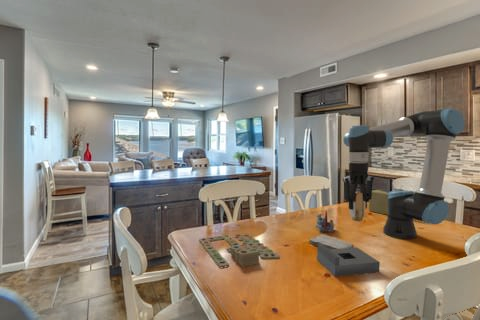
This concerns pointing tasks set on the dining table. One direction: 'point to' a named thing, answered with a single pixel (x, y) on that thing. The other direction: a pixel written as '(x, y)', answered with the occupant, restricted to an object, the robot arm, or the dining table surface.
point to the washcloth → (330, 242)
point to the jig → (346, 261)
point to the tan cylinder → (358, 206)
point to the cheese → (379, 202)
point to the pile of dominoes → (239, 250)
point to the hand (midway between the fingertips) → (357, 216)
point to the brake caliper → (324, 223)
